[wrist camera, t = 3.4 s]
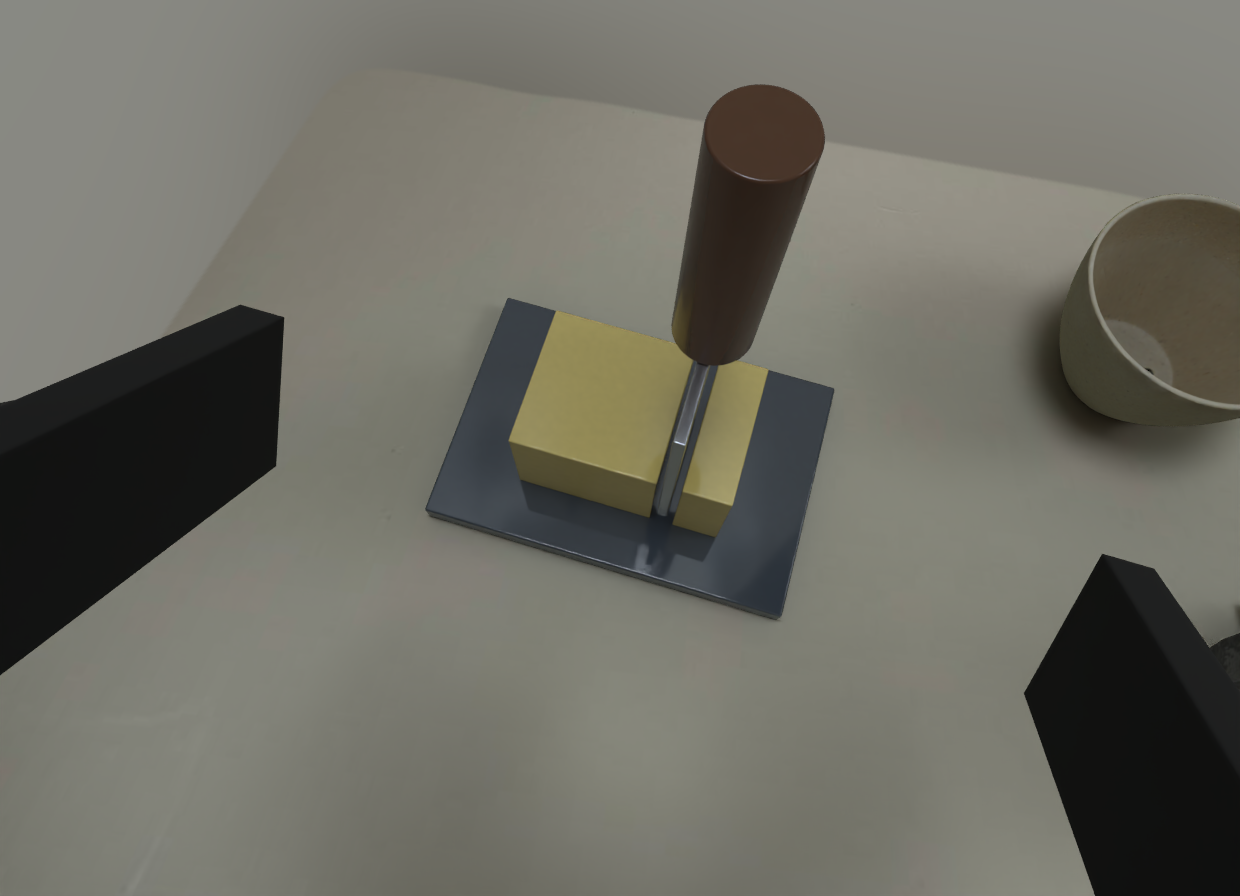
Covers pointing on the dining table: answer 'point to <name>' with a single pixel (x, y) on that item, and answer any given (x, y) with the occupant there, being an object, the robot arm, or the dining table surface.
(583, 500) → the butter dish
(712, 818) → the dining table surface
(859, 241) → the dining table surface
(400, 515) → the dining table surface
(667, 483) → the knife
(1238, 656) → the mug
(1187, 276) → the flower pot
